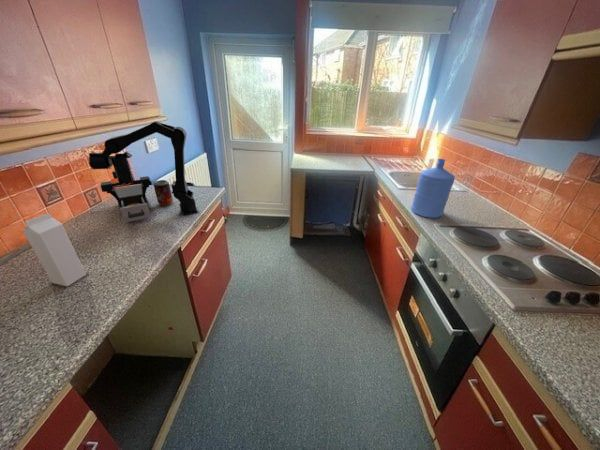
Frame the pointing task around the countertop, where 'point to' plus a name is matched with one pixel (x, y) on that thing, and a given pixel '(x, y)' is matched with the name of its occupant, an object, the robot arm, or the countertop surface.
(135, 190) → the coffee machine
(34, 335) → the countertop surface
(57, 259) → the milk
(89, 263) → the countertop surface
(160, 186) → the red food can
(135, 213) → the drawer
